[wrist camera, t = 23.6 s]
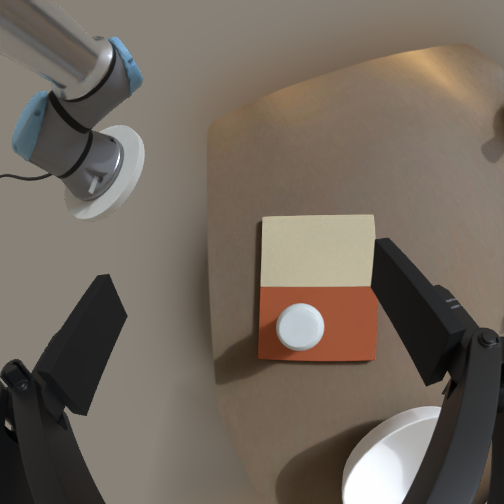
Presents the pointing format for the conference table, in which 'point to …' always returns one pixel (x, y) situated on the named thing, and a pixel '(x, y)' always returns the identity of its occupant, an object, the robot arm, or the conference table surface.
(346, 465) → the bowl
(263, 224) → the sorting mat
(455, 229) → the conference table surface
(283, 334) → the supplement bottle
